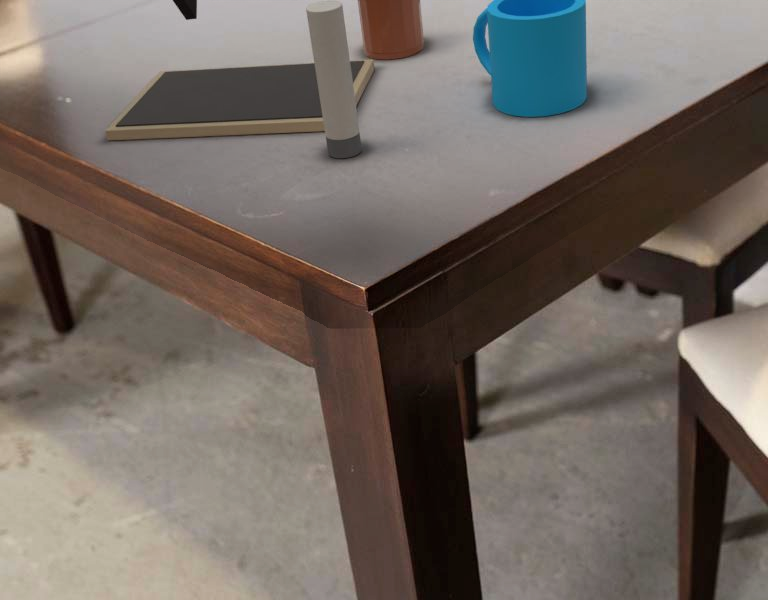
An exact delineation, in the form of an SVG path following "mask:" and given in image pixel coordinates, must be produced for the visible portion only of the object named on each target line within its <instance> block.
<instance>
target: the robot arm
mask: <svg viewBox="0 0 768 600" xmlns="http://www.w3.org/2000/svg"><path fill="white" fill-rule="evenodd" d="M172 2H173V3H174V5H175V6H176V8H177V9H178V10H179V12H180V13H181V15H182V16H183V17H184V19H185V20H186V21H189V20H197V19H198V18H197V16H198V0H172Z"/></svg>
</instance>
